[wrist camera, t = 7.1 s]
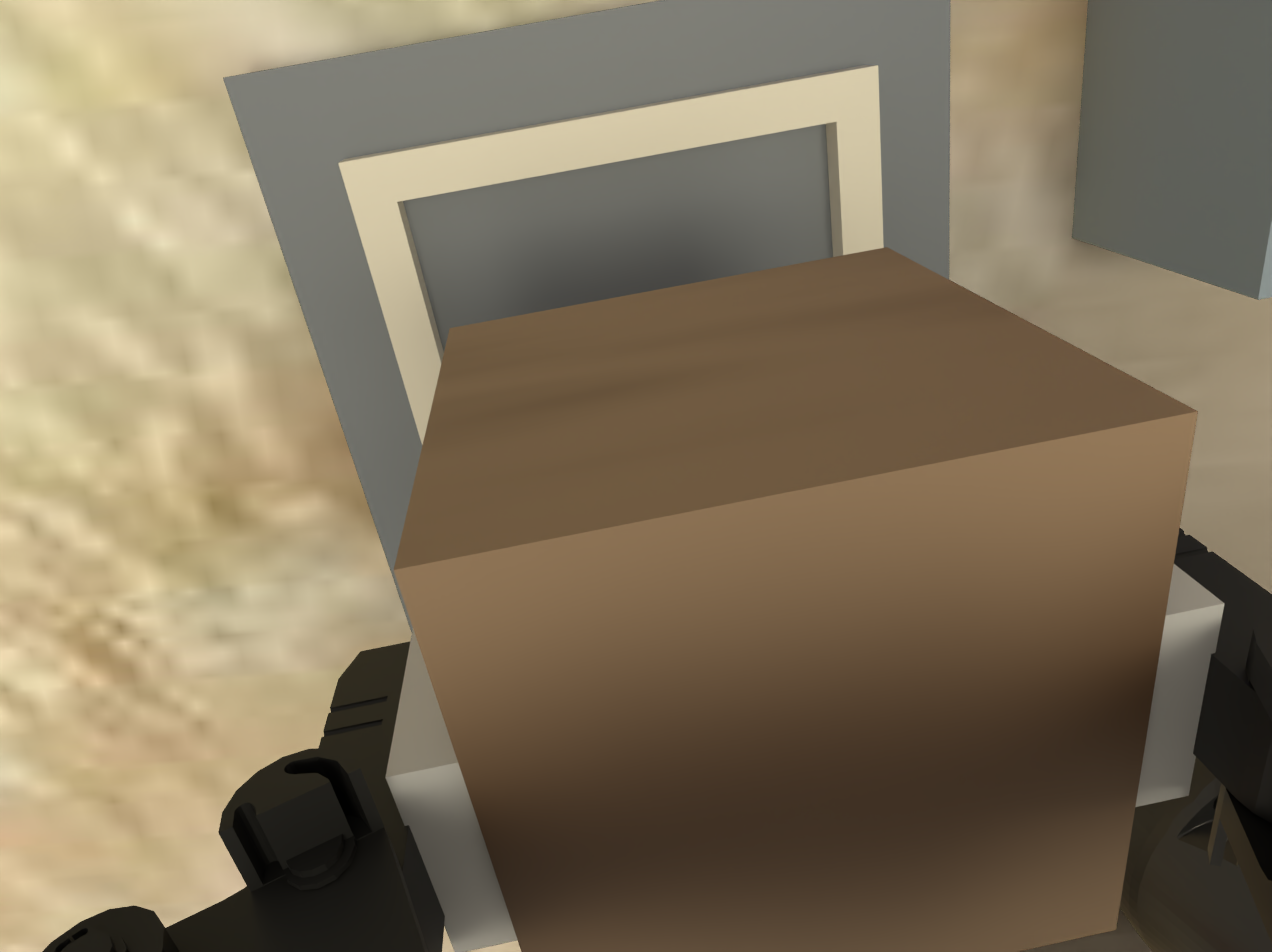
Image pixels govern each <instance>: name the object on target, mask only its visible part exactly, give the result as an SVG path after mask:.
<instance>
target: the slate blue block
mask: <svg viewBox="0 0 1272 952" xmlns="http://www.w3.org/2000/svg"><path fill="white" fill-rule="evenodd" d="M1072 238H1074V239H1077V240H1080V241H1083V242H1086V243H1089V244H1092V245H1095V246H1098V247H1101V248H1104V249H1107V250H1110V251H1113V252H1116V253H1119V254H1122V255H1125V256H1128V257H1131V258H1134V259H1137V260H1140V261H1143V262H1146V263H1149V264H1152V265H1155V266H1158V267H1161V268H1164V269H1167V270H1170V271H1173V272H1176V273H1179V274H1182V275H1185V276H1188V277H1191V278H1194V279H1197V280H1200V281H1203V282H1206V283H1209V284H1212V285H1215V286H1218V287H1221V288H1224V289H1227V290H1230V291H1233V292H1236V293H1239V294H1242V295H1245V296H1248V297H1251V298H1254V299H1257V300H1259V299H1264V298H1270V297H1272V0H1088V9H1087V24H1086V39H1085V54H1084V68H1083V83H1082V98H1081V113H1080V128H1079V142H1078V157H1077V172H1076V187H1075V202H1074V216H1073V231H1072Z"/></svg>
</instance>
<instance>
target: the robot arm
mask: <svg viewBox="0 0 1272 952" xmlns="http://www.w3.org/2000/svg"><path fill="white" fill-rule="evenodd" d="M330 708H331V713H329V714H328V717H327V721H326V724H325V728H324V737H322V738H321V742H320V745H319V749H307V750H304V751H301V752H298V753H294V754H291V755H288V756H285V757H282V758H281V759H279V760H277V761H275V762H274V763H272V764H270V765H268V766H267V767H265V768H263V769H261V770H260V771H258V772H257V773H256V774H254V775H253V776H252V777H251V778H250V779H249V780H248V781H247V782H246V783H244V784H243V785H242V786H241V787H240V788H239V789H238V790H237V791H236V792H235V794H234V795H233V797H232V798H231V800H230V801H229V803H228V805H227V806H226V808H225V809H224V811H223V812H222V818H221V823H220V828H219V835H220V836H221V838H222V840H223V842H224V844H225V846H226V848H227V849H228V851H229V853H230V855H231V857H232V859H233V860H234V862H235V864H236V866H237V868H238V870H239V872H240V873H241V875H242V877H243V879H244V881H245V883H246V885H247V887H245V888H244V889H242V890H241V891H239V892H237V893H235V894H234V895H232V896H230V897H228V898H227V899H225V900H223V901H221V902H219V903H217V904H215V905H213V906H211V907H209V908H207V909H204V910H202V911H200V912H198V913H196V914H194V915H192V916H190V917H188V918H186V919H184V920H181V921H179V922H177V923H175V924H173V925H171V926H169V927H167V928H165V927H164V925H163V924H162V923H161V921H160V920H159V918H158V917H157V915H156V914H155V912H154V911H151V910H148V909H145V908H141V907H138V906H129V907H122V908H115V909H109V910H107V911H104V912H102V913H100V914H97V915H95V916H93V917H91V918H88V919H86V920H84V921H82V922H80V923H78V924H77V925H75V926H74V927H72V928H71V929H70V930H68V931H67V932H65V933H64V934H63V935H61V936H60V937H58V938H57V939H55V940H54V941H53V942H51V943H50V944H49V945H48V946H47V947H46V948H45V950H44V951H43V952H442V943H443V932H444V926H445V928H446V931H447V933H448V936H449V939H450V941H451V944H452V946H453V949H454V951H455V952H466V951H471V950H475V949H480V948H485V947H489V946H494V945H498V944H503V943H508V942H512V941H517V937H516V934H515V931H514V928H513V925H512V922H511V919H510V916H509V913H508V910H507V907H506V904H505V901H504V898H503V895H502V892H501V889H500V886H499V883H498V880H497V877H496V874H495V871H494V868H493V865H492V862H491V859H490V856H489V853H488V850H487V847H486V844H485V841H484V838H483V835H482V832H481V829H480V826H479V823H478V820H477V817H476V814H475V811H474V808H473V805H472V802H471V799H470V796H469V793H468V790H467V787H466V784H465V782H464V779H463V776H462V773H461V770H460V767H459V764H458V761H457V758H456V755H455V752H454V749H453V746H452V743H451V740H450V737H449V734H448V731H447V728H446V725H445V722H444V719H443V716H442V713H441V710H440V707H439V704H438V701H437V698H436V695H435V692H434V689H433V686H432V683H431V680H430V677H429V674H428V671H427V668H426V665H425V662H424V659H423V656H422V653H421V650H420V647H419V644H418V641H417V638H416V635H415V632H414V629H413V630H412V636H411V641H410V642H406V643H401V644H396V645H391V646H386V647H381V648H376V649H371V650H366V651H361V652H360V653H359V654H358V656H357V657H356V658H355V659H354V661H353V662H352V663H351V664H350V666H349V667H348V668H347V669H346V670H345V672H344V673H343V674H342V675H341V677H340V678H339V679H338V683H337V686H336V690H335V693H334V697H333V700H332V704H331V707H330ZM1120 909H1121V910H1122V912H1123V913H1124V915H1125V916H1126V917H1127V919H1128V920H1129V922H1130V923H1131V924H1132V926H1133V927H1134V929H1135V930H1136V932H1137V933H1138V934H1139V936H1140V937H1141V938H1142V940H1143V941H1144V942H1145V943H1146V944H1147V946H1148V947H1149V948H1150V949H1151V950H1152V951H1153V952H1272V594H1271V593H1269V592H1268V591H1266V590H1265V589H1264V588H1262V587H1261V586H1259V585H1258V584H1257V583H1255V582H1254V581H1253V580H1251V579H1250V578H1248V577H1247V576H1246V575H1244V574H1243V573H1241V572H1240V571H1239V570H1237V569H1236V568H1235V567H1233V566H1232V565H1230V564H1229V563H1228V562H1226V561H1225V560H1223V559H1222V558H1221V557H1219V556H1218V555H1217V554H1215V553H1214V552H1208V551H1207V547H1206V546H1204V545H1203V544H1201V543H1200V542H1199V541H1197V540H1196V539H1194V538H1193V537H1192V536H1190V535H1186V536H1185V534H1184V531H1183V530H1182V529H1181V528H1179V534H1178V540H1177V547H1176V553H1175V559H1174V566H1173V572H1172V578H1171V585H1170V591H1169V597H1168V604H1167V610H1166V616H1165V623H1164V629H1163V635H1162V642H1161V648H1160V654H1159V661H1158V667H1157V673H1156V680H1155V686H1154V692H1153V699H1152V705H1151V711H1150V718H1149V724H1148V730H1147V737H1146V743H1145V749H1144V756H1143V762H1142V768H1141V775H1140V781H1139V787H1138V794H1137V800H1136V806H1135V813H1134V819H1133V825H1132V832H1131V838H1130V844H1129V851H1128V857H1127V863H1126V870H1125V876H1124V882H1123V889H1122V895H1121V901H1120Z"/></svg>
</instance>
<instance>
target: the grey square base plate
mask: <svg viewBox="0 0 1272 952" xmlns="http://www.w3.org/2000/svg"><path fill="white" fill-rule="evenodd" d="M223 79H224V82H225V85H226V88H227V91H228V94H229V97H230V100H231V103H232V106H233V109H234V112H235V115H236V118H237V120H238V123H239V126H240V129H241V132H242V135H243V138H244V141H245V144H246V147H247V150H248V153H249V156H250V159H251V162H252V165H253V167H254V170H255V173H256V176H257V179H258V182H259V185H260V188H261V191H262V194H263V197H264V200H265V203H266V206H267V209H268V212H269V214H270V217H271V220H272V223H273V226H274V229H275V232H276V235H277V238H278V241H279V244H280V247H281V250H282V253H283V256H284V259H285V262H286V264H287V267H288V270H289V273H290V276H291V279H292V282H293V285H294V288H295V291H296V294H297V297H298V300H299V303H300V306H301V309H302V311H303V314H304V317H305V320H306V323H307V326H308V329H309V332H310V335H311V338H312V341H313V344H314V347H315V350H316V353H317V356H318V358H319V361H320V364H321V367H322V370H323V373H324V376H325V379H326V382H327V385H328V388H329V391H330V394H331V397H332V400H333V403H334V406H335V408H336V411H337V414H338V417H339V420H340V423H341V426H342V429H343V432H344V435H345V438H346V441H347V444H348V447H349V450H350V453H351V455H352V458H353V461H354V464H355V467H356V470H357V473H358V476H359V479H360V482H361V485H362V488H363V491H364V494H365V497H366V500H367V502H368V505H369V508H370V511H371V514H372V517H373V520H374V523H375V526H376V529H377V532H378V535H379V538H380V541H381V544H382V547H383V549H384V552H385V555H386V558H387V561H388V564H389V567H390V570H391V573H392V576H393V579H394V582H395V585H396V588H397V591H398V594H399V597H400V599H401V602H402V605H403V608H404V611H405V614H406V617H407V620H408V623H409V626H410V629H411V632H412V630H413V627H412V624H411V621H410V618H409V615H408V612H407V609H406V606H405V603H404V600H403V597H402V594H401V591H400V588H399V585H398V582H397V579H396V576H395V573H394V566H395V562H396V557H397V553H398V549H399V545H400V540H401V536H402V532H403V527H404V523H405V519H406V514H407V510H408V506H409V501H410V497H411V493H412V489H413V484H414V480H415V476H416V471H417V467H418V463H419V458H420V454H421V450H422V445H423V441H424V437H425V433H426V428H427V424H428V420H429V415H430V411H431V407H432V402H433V398H434V394H435V389H436V385H437V381H438V377H439V372H440V368H441V364H442V359H443V355H444V351H445V346H446V342H447V338H448V333H449V329H450V328H454V327H459V326H464V325H470V324H475V323H481V322H486V321H491V320H497V319H502V318H508V317H513V316H518V315H524V314H529V313H534V312H540V311H545V310H551V309H556V308H561V307H567V306H572V305H578V304H583V303H588V302H594V301H599V300H605V299H610V298H615V297H621V296H626V295H632V294H637V293H642V292H648V291H653V290H659V289H664V288H669V287H675V286H680V285H685V284H691V283H696V282H702V281H707V280H712V279H718V278H723V277H729V276H734V275H739V274H745V273H750V272H756V271H761V270H766V269H772V268H777V267H783V266H788V265H793V264H799V263H804V262H810V261H815V260H820V259H826V258H831V257H836V256H842V255H847V254H853V253H858V252H863V251H869V250H874V249H880V248H885V247H888V248H890V249H892V250H893V251H895V252H897V253H899V254H901V255H903V256H905V257H907V258H909V259H911V260H912V261H914V262H916V263H918V264H920V265H922V266H924V267H926V268H928V269H929V270H931V271H933V272H935V273H937V274H939V275H941V276H943V277H945V278H946V279H948V280H949V177H950V0H661V1H655V2H649V3H644V4H638V5H632V6H627V7H621V8H615V9H610V10H604V11H598V12H593V13H587V14H581V15H576V16H570V17H564V18H559V19H553V20H547V21H542V22H536V23H530V24H525V25H519V26H513V27H508V28H502V29H497V30H491V31H485V32H480V33H474V34H468V35H463V36H457V37H451V38H446V39H440V40H434V41H429V42H423V43H417V44H412V45H406V46H400V47H395V48H389V49H383V50H378V51H372V52H366V53H361V54H355V55H349V56H344V57H338V58H332V59H327V60H321V61H315V62H310V63H304V64H298V65H293V66H287V67H281V68H276V69H270V70H264V71H259V72H253V73H247V74H242V75H236V76H230V77H225V78H223Z"/></svg>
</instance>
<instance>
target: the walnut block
mask: <svg viewBox="0 0 1272 952" xmlns="http://www.w3.org/2000/svg"><path fill="white" fill-rule="evenodd" d="M1197 414H1198V411H1196V410H1194V409H1192V408H1190V407H1188V406H1187V405H1185V404H1183V403H1181V402H1179V401H1177V400H1175V399H1173V398H1171V397H1170V396H1168V395H1166V394H1164V393H1162V392H1160V391H1158V390H1156V389H1154V388H1153V387H1151V386H1149V385H1147V384H1145V383H1143V382H1141V381H1139V380H1137V379H1136V378H1134V377H1132V376H1130V375H1128V374H1126V373H1124V372H1122V371H1120V370H1119V369H1117V368H1115V367H1113V366H1111V365H1109V364H1107V363H1105V362H1103V361H1102V360H1100V359H1098V358H1096V357H1094V356H1092V355H1090V354H1088V353H1086V352H1084V351H1083V350H1081V349H1079V348H1077V347H1075V346H1073V345H1071V344H1069V343H1067V342H1066V341H1064V340H1062V339H1060V338H1058V337H1056V336H1054V335H1052V334H1050V333H1049V332H1047V331H1045V330H1043V329H1041V328H1039V327H1037V326H1035V325H1033V324H1032V323H1030V322H1028V321H1026V320H1024V319H1022V318H1020V317H1018V316H1016V315H1015V314H1013V313H1011V312H1009V311H1007V310H1005V309H1003V308H1001V307H999V306H997V305H996V304H994V303H992V302H990V301H988V300H986V299H984V298H982V297H980V296H979V295H977V294H975V293H973V292H971V291H969V290H967V289H965V288H963V287H962V286H960V285H958V284H956V283H954V282H952V281H950V280H948V279H946V278H945V277H943V276H941V275H939V274H937V273H935V272H933V271H931V270H929V269H928V268H926V267H924V266H922V265H920V264H918V263H916V262H914V261H912V260H911V259H909V258H907V257H905V256H903V255H901V254H899V253H897V252H895V251H893V250H892V249H890V248H888V247H885V248H880V249H874V250H869V251H863V252H858V253H853V254H847V255H842V256H836V257H831V258H826V259H820V260H815V261H810V262H804V263H799V264H793V265H788V266H783V267H777V268H772V269H766V270H761V271H756V272H750V273H745V274H739V275H734V276H729V277H723V278H718V279H712V280H707V281H702V282H696V283H691V284H685V285H680V286H675V287H669V288H664V289H659V290H653V291H648V292H642V293H637V294H632V295H626V296H621V297H615V298H610V299H605V300H599V301H594V302H588V303H583V304H578V305H572V306H567V307H561V308H556V309H551V310H545V311H540V312H534V313H529V314H524V315H518V316H513V317H508V318H502V319H497V320H491V321H486V322H481V323H475V324H470V325H464V326H459V327H454V328H450V329H449V333H448V338H447V342H446V346H445V351H444V355H443V359H442V364H441V368H440V372H439V377H438V381H437V385H436V389H435V394H434V398H433V402H432V407H431V411H430V415H429V420H428V424H427V428H426V433H425V437H424V441H423V445H422V450H421V454H420V458H419V463H418V467H417V471H416V476H415V480H414V484H413V489H412V493H411V497H410V501H409V506H408V510H407V514H406V519H405V523H404V527H403V532H402V536H401V540H400V545H399V549H398V553H397V557H396V562H395V566H394V573H395V576H396V579H397V582H398V585H399V588H400V591H401V594H402V597H403V600H404V603H405V606H406V609H407V612H408V615H409V618H410V621H411V624H412V627H413V629H414V632H415V635H416V638H417V641H418V644H419V647H420V650H421V653H422V656H423V659H424V662H425V665H426V668H427V671H428V674H429V677H430V680H431V683H432V686H433V689H434V692H435V695H436V698H437V701H438V704H439V707H440V710H441V713H442V716H443V719H444V722H445V725H446V728H447V731H448V734H449V737H450V740H451V743H452V746H453V749H454V752H455V755H456V758H457V761H458V764H459V767H460V770H461V773H462V776H463V779H464V782H465V784H466V787H467V790H468V793H469V796H470V799H471V802H472V805H473V808H474V811H475V814H476V817H477V820H478V823H479V826H480V829H481V832H482V835H483V838H484V841H485V844H486V847H487V850H488V853H489V856H490V859H491V862H492V865H493V868H494V871H495V874H496V877H497V880H498V883H499V886H500V889H501V892H502V895H503V898H504V901H505V904H506V907H507V910H508V913H509V916H510V919H511V922H512V925H513V928H514V931H515V934H516V937H517V940H518V942H519V945H520V948H521V951H522V952H1019V951H1024V950H1028V949H1033V948H1037V947H1042V946H1046V945H1051V944H1055V943H1060V942H1064V941H1069V940H1073V939H1078V938H1082V937H1086V936H1091V935H1095V934H1100V933H1104V932H1109V931H1113V930H1116V927H1117V920H1118V914H1119V908H1120V901H1121V895H1122V889H1123V882H1124V876H1125V870H1126V863H1127V857H1128V851H1129V844H1130V838H1131V832H1132V825H1133V819H1134V813H1135V806H1136V800H1137V794H1138V787H1139V781H1140V775H1141V768H1142V762H1143V756H1144V749H1145V743H1146V737H1147V730H1148V724H1149V718H1150V711H1151V705H1152V699H1153V692H1154V686H1155V680H1156V673H1157V667H1158V661H1159V654H1160V648H1161V642H1162V635H1163V629H1164V623H1165V616H1166V610H1167V604H1168V597H1169V591H1170V585H1171V578H1172V572H1173V566H1174V559H1175V553H1176V547H1177V540H1178V534H1179V528H1180V521H1181V515H1182V509H1183V502H1184V496H1185V490H1186V483H1187V477H1188V471H1189V464H1190V458H1191V452H1192V445H1193V439H1194V433H1195V426H1196V420H1197Z"/></svg>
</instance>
